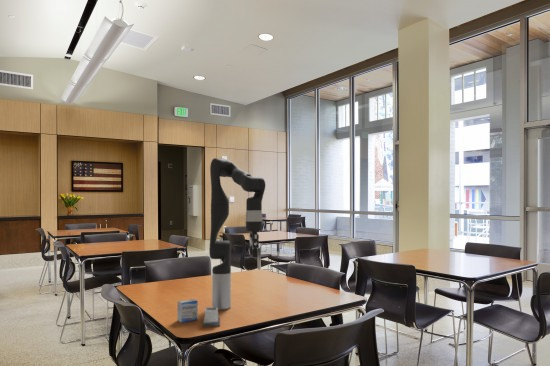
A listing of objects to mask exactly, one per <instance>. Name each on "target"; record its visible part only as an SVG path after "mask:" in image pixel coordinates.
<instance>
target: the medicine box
mask: <svg viewBox="0 0 550 366" xmlns="http://www.w3.org/2000/svg"><path fill="white" fill-rule="evenodd" d="M198 302H199V301H198V300H197V299H195V298H193V299H192V298H191V299H186V300H179V301H177V317H176V318H177V322H179V323H181V324H184V323H189V322H193V321H197V320H198V309H199V308H198V305H199V304H198Z"/></svg>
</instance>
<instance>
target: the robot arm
mask: <svg viewBox="0 0 550 366" xmlns="http://www.w3.org/2000/svg"><path fill="white" fill-rule="evenodd" d="M209 170H210V171H209V172H210V185H211V186H210V187H211V188H210V191H211V194H210V234H209V235H210V236H209V238H210V239H209V258H210V259H211V260H224V261H223V262H221V263H220V264H218V265H217V264H216V265H215V266H213V267H212V276H211V279H212V280H211V281H212V282H211V284H212V288H211V289H212V290H211V292H212V293H211V295H212V297H211V300H212V301H211V303H212V305H211V307H218V311H220V310H223V311H224V310H228V309H230V308H232V306H231V305H232V302H231V301H232V298H231V297H232V290H231V289H232V279H231V276H232V275H231V274H232V272H231V271H232V270H231V269H232V267H231V266H232V265H231V263H232V242H231V241H230V240H217V238H218V235H219V232H220V231H221V229H222V227H223V225H224V224H225V222H226V221H227V219H228V217H229V215H230V200H229V199H228V196H227V194H226V193H225V191H224V189H223V187H222V185H221V184H222V183H221V177H223V178H231V179H232V181H233V182H234V183H235V184H236V185H238V186H240V187H241V188H242V190H243V191H245V192H247V193H253V196H251V197H248V198H246V201H245V202H246V203H245V204H246V205H245V206H246V209H245V210H246V211H245V231H246V232H249V235H248V236H249V246H250V255H251V256H252V257H253V258H254V259H255V258H258V255H259V253H258V252H259V250H258V249H259V247H260V245H259V239H260V236H259V234H258V232H261V231H263V213H262V212H263V211H262V209H263V207H262V204H263V198H264V193H265V190H266V181H265V179H264V178H263V177H262V176H261V177H260V176H252V175H251V174H250V173H249V172H247V171H244V169H243V170H242V169H240V168H239V167H238V166H237V165H235V163H234V162H232V161H231V160H229V159H225V158H213V159H211V162H210V167H209Z"/></svg>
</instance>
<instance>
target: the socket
mask: <svg viewBox="0 0 550 366" xmlns="http://www.w3.org/2000/svg"><path fill="white" fill-rule="evenodd" d="M204 318H205V323H211V322H218V318H219V310H218V307H212V306H207V307H206V306H205V307H204Z"/></svg>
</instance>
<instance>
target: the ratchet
mask: <svg viewBox="0 0 550 366" xmlns="http://www.w3.org/2000/svg"><path fill="white" fill-rule="evenodd" d="M202 321H203V322H202V327H203V328H209V327H210V328H211V327H221V322H220V321H221V319H220V317H218V322H211V323H205V317H204V318H203V319H202Z"/></svg>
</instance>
